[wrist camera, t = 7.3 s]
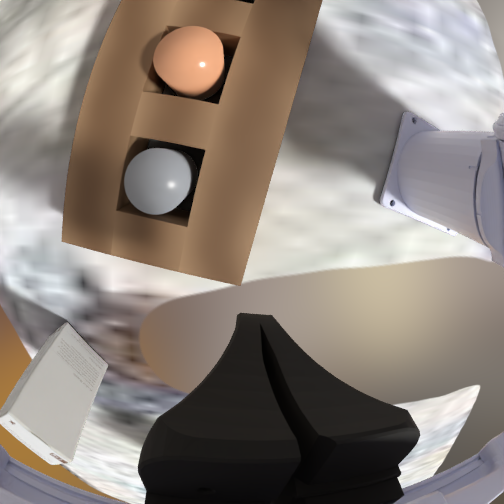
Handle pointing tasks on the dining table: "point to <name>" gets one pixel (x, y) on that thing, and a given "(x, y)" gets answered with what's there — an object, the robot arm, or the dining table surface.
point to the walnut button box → (186, 133)
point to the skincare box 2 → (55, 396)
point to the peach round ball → (191, 62)
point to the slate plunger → (160, 179)
